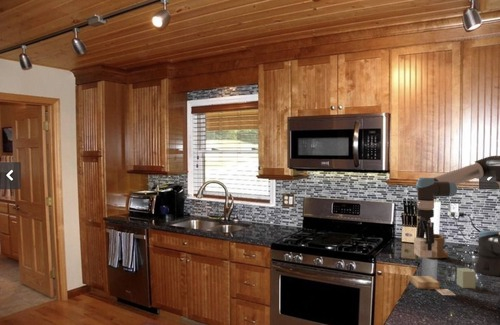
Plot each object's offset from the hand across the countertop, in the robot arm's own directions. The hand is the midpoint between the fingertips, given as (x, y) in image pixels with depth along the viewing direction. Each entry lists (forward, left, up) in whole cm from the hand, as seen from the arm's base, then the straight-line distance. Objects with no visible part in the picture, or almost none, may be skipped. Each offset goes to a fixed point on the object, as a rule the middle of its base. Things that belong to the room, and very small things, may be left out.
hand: (424, 254), depth 190 cm
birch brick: (0, 0, 0) cm, 0 cm away
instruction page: (-6, +10, -15) cm, 19 cm away
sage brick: (-20, 0, -15) cm, 25 cm away
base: (0, 0, -15) cm, 15 cm away
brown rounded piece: (-30, -55, -15) cm, 65 cm away
